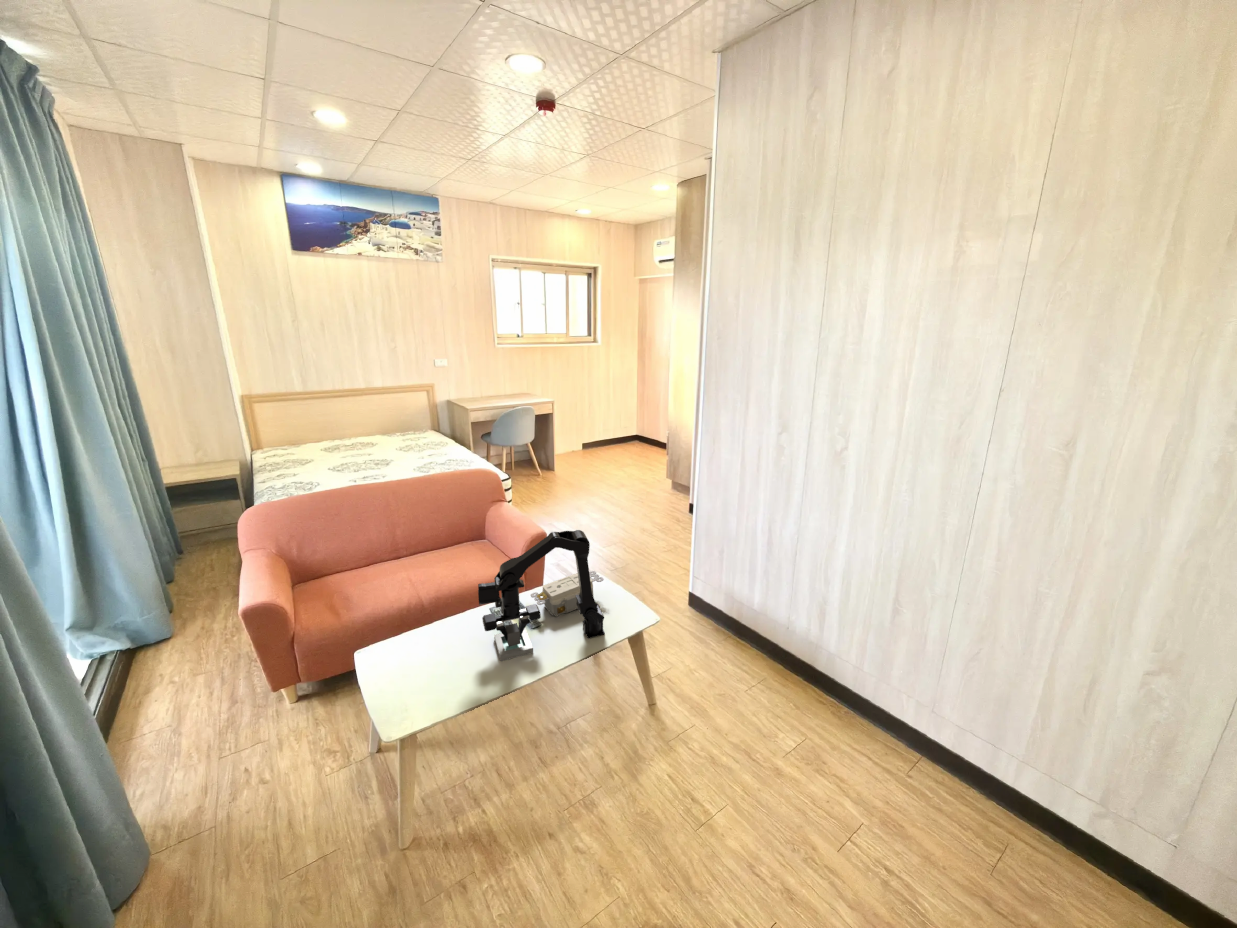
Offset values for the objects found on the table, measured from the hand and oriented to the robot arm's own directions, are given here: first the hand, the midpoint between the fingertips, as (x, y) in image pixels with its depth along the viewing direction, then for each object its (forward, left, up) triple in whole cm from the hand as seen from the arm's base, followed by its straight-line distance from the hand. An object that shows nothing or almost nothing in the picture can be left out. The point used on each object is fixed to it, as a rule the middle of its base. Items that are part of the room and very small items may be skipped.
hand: (513, 638), depth 166 cm
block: (0, 0, -1) cm, 1 cm away
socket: (0, 0, -3) cm, 3 cm away
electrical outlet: (-25, -17, -4) cm, 30 cm away
